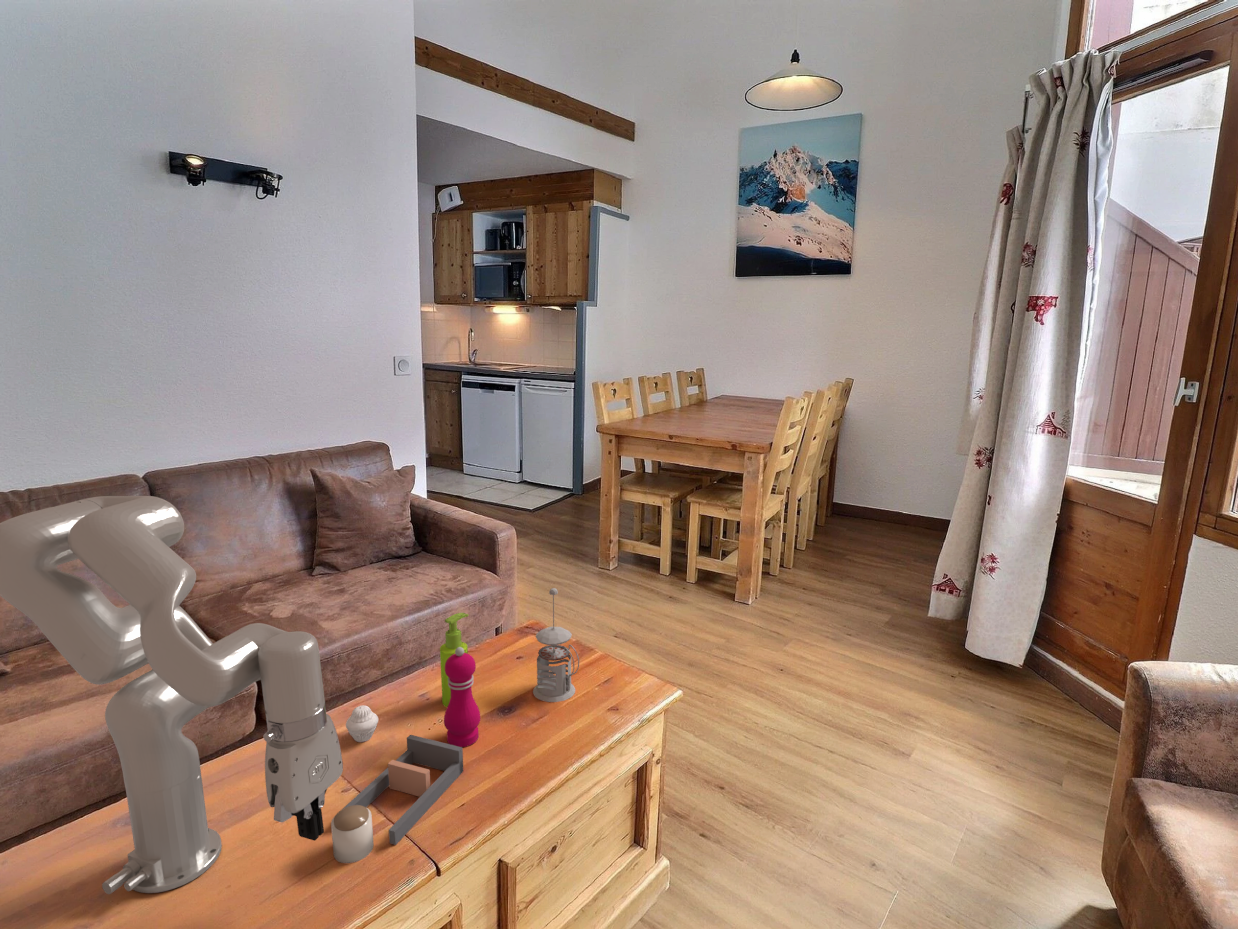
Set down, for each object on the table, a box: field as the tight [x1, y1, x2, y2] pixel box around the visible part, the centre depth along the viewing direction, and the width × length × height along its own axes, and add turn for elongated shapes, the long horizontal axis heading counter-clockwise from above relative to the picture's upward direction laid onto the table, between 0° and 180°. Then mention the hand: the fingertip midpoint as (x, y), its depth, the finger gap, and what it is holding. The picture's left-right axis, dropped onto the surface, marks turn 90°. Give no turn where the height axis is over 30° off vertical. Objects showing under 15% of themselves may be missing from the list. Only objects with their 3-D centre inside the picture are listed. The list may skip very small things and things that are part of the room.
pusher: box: [387, 759, 431, 798], centre depth 124 cm, size 1×8×5 cm, turn 70°
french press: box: [532, 587, 580, 703], centre depth 156 cm, size 10×12×25 cm
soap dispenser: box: [439, 612, 469, 708], centre depth 152 cm, size 6×7×20 cm
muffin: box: [345, 705, 379, 743], centre depth 139 cm, size 6×6×7 cm
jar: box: [330, 805, 374, 864], centre depth 110 cm, size 6×6×6 cm
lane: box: [342, 734, 464, 846], centre depth 122 cm, size 20×12×5 cm, turn 160°
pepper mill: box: [443, 647, 481, 748], centre depth 138 cm, size 7×7×20 cm
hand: (311, 834), depth 100 cm, fingers closed
